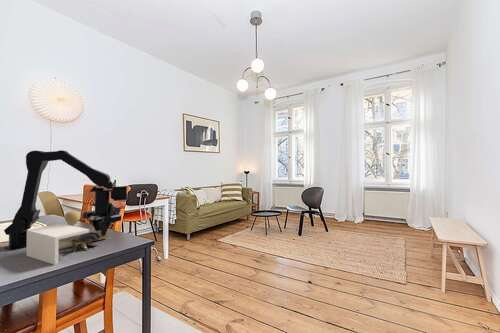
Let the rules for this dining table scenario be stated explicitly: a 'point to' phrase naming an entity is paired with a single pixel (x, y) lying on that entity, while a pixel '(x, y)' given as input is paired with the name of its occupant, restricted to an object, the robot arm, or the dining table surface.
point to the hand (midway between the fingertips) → (101, 235)
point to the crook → (66, 241)
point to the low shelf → (49, 241)
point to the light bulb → (72, 218)
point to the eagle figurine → (84, 240)
